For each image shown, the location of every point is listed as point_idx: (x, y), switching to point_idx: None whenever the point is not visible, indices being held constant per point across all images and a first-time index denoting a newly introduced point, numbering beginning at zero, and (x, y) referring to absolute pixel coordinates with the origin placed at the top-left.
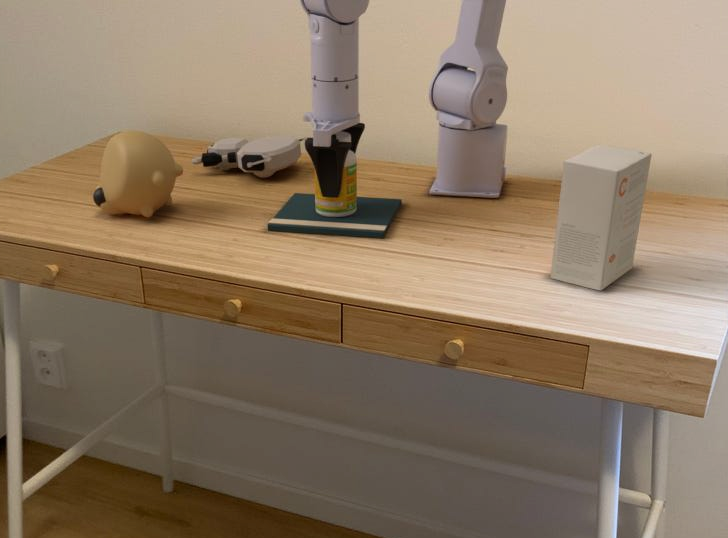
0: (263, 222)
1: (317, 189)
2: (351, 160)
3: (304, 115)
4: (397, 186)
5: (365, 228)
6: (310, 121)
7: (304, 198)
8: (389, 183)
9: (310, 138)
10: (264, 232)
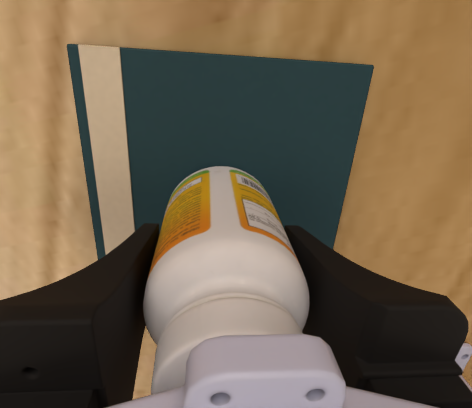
0: (143, 9)
1: (178, 205)
2: None
3: (206, 391)
4: (434, 286)
5: None
6: (176, 392)
7: (320, 108)
8: (458, 269)
9: (74, 338)
10: (58, 36)
